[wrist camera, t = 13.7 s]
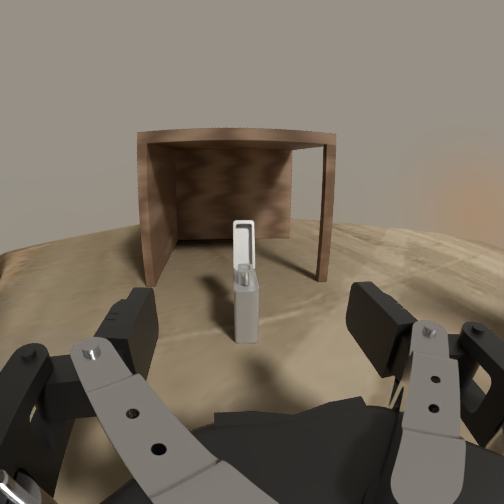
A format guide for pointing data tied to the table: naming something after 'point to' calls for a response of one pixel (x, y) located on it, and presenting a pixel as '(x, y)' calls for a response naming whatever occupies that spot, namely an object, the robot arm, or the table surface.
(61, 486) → the table surface
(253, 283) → the lighter
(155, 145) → the open side box
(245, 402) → the table surface
